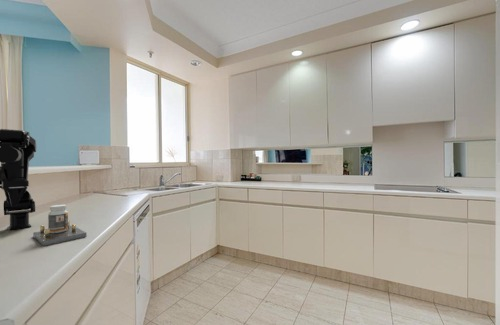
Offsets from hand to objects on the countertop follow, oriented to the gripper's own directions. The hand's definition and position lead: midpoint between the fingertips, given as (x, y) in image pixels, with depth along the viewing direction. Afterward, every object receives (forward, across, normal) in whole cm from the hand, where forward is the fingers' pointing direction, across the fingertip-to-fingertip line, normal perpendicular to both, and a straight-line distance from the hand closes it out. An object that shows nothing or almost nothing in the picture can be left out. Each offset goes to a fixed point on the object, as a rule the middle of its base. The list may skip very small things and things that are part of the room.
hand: (12, 205), depth 82 cm
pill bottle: (+11, +11, +11) cm, 19 cm away
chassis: (+12, +13, +11) cm, 21 cm away
